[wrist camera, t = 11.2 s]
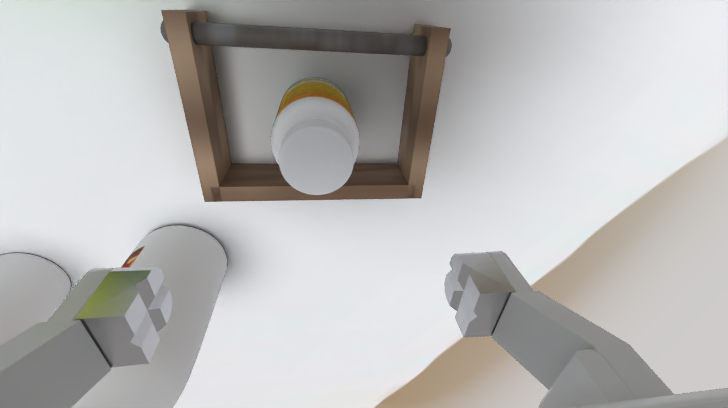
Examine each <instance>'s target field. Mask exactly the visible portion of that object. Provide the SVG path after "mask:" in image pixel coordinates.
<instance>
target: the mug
mask: <svg viewBox="0 0 728 408" xmlns="http://www.w3.org/2000/svg"><path fill="white" fill-rule="evenodd" d="M70 288H71V283H70V280H69V277H68V276H67V274H66V273H65V272H64V271H63V270H62V269H61V268H60V267H59V266H57V265H56V264H54V263H52V262H51V261H49V260H46V259H44V258H41V257H38V256H35V255H31V254H25V253H9V254H4V255H0V345H2V344H4V343H5V342H7V341H9V340H10V339H12V338H14V337H15V336H17V335H19V334H20V333H22V332H24V331H25V330H27V329H29V328H31V327H32V326H34V325H36V324H37V323H40V322H47V320H48V319H49V318H50V317H51V315H52V314H53V313H54V311H55V310H56V309H57V307H58V306H59V305H60V304H61V302H62V301H63V300H64V299H65V297H66V296H67V295H68V293H69V291H70Z"/></svg>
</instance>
